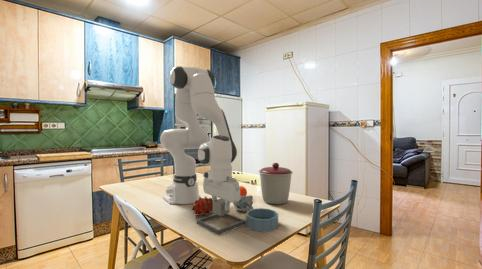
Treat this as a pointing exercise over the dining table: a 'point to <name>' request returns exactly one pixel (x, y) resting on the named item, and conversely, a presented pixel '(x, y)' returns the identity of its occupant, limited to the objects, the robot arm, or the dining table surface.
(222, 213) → the pebble block
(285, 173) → the canister
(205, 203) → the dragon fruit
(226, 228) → the tray
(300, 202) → the dining table surface
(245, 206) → the mineral specimen
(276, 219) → the bowl
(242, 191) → the clementine
